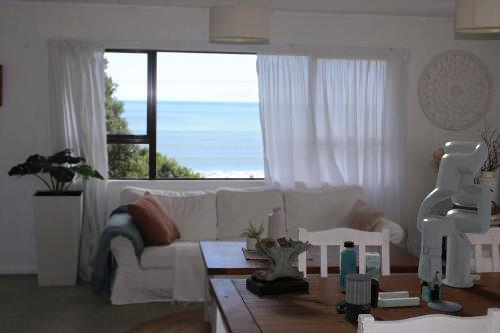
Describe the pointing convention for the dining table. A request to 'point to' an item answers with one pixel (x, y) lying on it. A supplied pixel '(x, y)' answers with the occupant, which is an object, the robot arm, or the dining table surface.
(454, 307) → the pad
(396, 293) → the white tray
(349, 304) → the milk frother
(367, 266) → the syrup box
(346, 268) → the beverage bottle
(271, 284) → the coral
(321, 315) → the dining table surface
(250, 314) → the dining table surface
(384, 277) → the dining table surface
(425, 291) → the teal block
